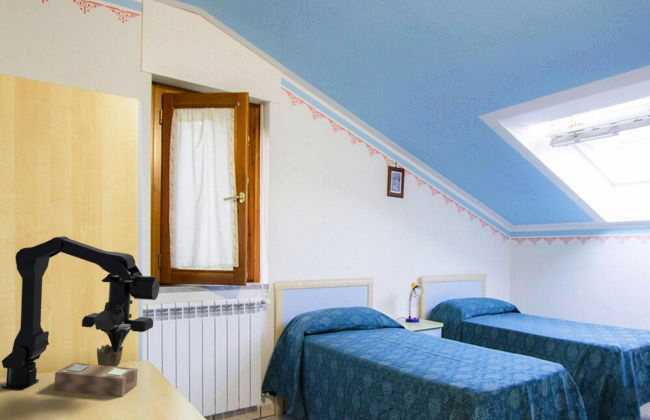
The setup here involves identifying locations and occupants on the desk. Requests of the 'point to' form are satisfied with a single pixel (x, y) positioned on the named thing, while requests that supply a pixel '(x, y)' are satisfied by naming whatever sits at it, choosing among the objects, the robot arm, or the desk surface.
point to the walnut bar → (96, 380)
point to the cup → (108, 356)
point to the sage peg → (117, 372)
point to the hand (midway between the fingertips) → (116, 352)
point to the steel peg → (77, 368)
